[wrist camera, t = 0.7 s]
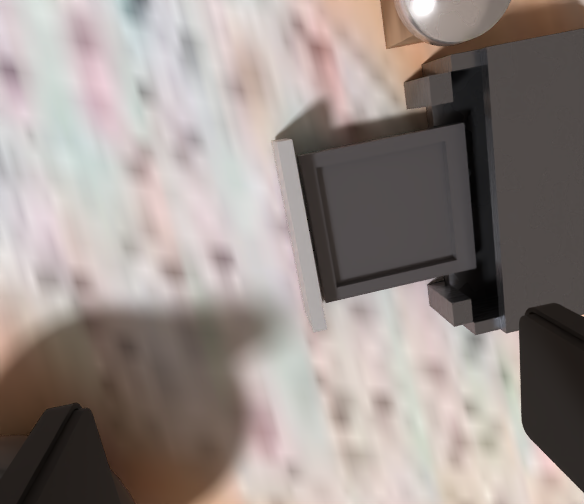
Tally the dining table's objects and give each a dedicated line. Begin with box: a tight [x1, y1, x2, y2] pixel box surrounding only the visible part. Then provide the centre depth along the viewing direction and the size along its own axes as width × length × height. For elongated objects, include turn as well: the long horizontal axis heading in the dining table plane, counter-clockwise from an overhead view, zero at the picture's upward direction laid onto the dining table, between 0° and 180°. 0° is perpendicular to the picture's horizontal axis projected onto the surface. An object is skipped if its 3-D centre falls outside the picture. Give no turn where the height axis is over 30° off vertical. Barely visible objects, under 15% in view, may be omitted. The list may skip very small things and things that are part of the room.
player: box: [404, 28, 584, 335], centre depth 35 cm, size 20×15×5 cm
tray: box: [271, 123, 476, 332], centre depth 34 cm, size 14×14×4 cm
